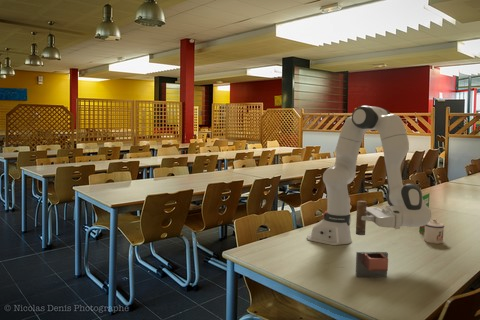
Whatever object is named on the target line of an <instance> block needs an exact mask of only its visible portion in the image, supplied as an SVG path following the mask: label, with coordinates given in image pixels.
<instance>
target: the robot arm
mask: <svg viewBox="0 0 480 320" xmlns="http://www.w3.org/2000/svg"><path fill="white" fill-rule="evenodd" d="M368 131H371V132H373V131H376V132H378V134H379V137H380V143H381V146H382V151H383V158H384V167H385V168H384V169H385V174H386V183H387V194H386V201H387V204H388V205H386V206H385V207H384V208H380V207H373V206H371V207H370V206H366V216H365V215H361V220H366V222H367V221H368V222H371V223H372V222H373V224H375V225H376V226H378V227H381V228H387V229H388V228H391V229H392V228H393V229H395V230H400V229H401V227H408V228H410V227H411V228H417V227H419V228H420V226H424V225H427V224H428V223H429V221H431V220H432V211H431V209H430V208H428V207H427V206H426V204H425V202H424V200H423V197H422V196H423V193H422V190H421V188H420V186H418V185H416V184H413V183H406V184H403V179H402V172H401V166H402V163H403V161H404V159H405V157H406V155H407V154H408V153H409V151H410V150H409V149H410V142H409V138H408V137H409V136H408V134H407V131H406V127H405V125H404V122H403V120H402V118H401V117H400V116H399V115H398V114H396V113H391V112H390V111H389V110H387V109H386V108H383V107H379V106H370V105H360V106H358V107H356V108H355V109H354V110H353V112H352V114H351V116H349V117H347V118H346V119H345V122H344V123H343V125H342V128H341V130H340V134H339V137H338V140H337V143H336V147H335V163H334V164H333V165H331V166H330V167H328V168H326V170H325V171H324V172H323V174H322V181H323V184H324V185H325V189H326V196H327V207H326V208H327V209H326V210H325V211H324V212H323V213H322V214H323V215H322V218H323V219H321V220H320V221H319V222H317V223H315V224H314V225H313V227H312V229H311V232H310V233H308V234H307V237H306V239H307V241H311V242H315V243H321V244H326V245H330V246H339V245H347V244H351V243H353V240H352V236H351V228H350V227H351V220H352V217H351V211H350V210H351V197H350V195H349V191H348V190H349V189H348V185H349V184H351V183H352V182H353V181H354V179H356V178H355V177H356V173H357V172H356V169H357V163H358V158H359V157H358V155H359V152H360V149H361V146H362V142H363V139H364V136H365V133H366V132H368Z"/></svg>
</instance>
